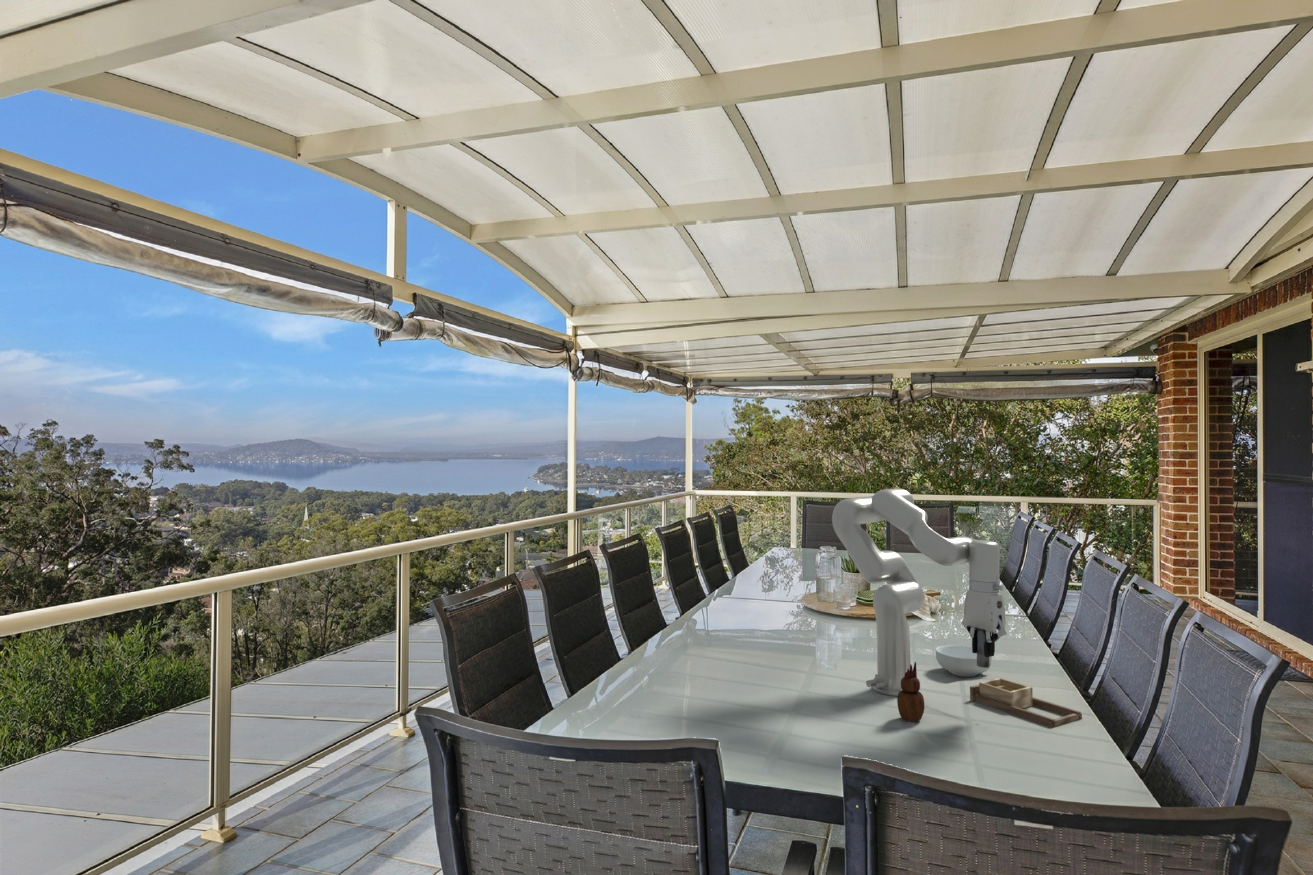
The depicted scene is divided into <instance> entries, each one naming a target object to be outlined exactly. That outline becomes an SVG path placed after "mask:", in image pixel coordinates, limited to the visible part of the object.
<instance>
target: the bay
mask: <svg viewBox="0 0 1313 875" xmlns="http://www.w3.org/2000/svg"><path fill="white" fill-rule="evenodd" d="M969 701H971V702H976V703H978V704H982V705H985V706H988V707H990V708H994V709H996V710H999V711H1002V712H1005V713H1008V714H1012V715H1015V716H1017V717H1021V718H1023V719H1027V720H1030V721H1032V722H1035V723H1039V724H1042V725H1044V726H1046V727H1048V728H1055V727H1058V726H1062V725H1065V724H1069V723H1072V722H1075V721H1079V720H1082V719H1083V713H1082V712H1081V711H1080V710H1076V709H1073V708H1070V707H1066V706H1063V705H1060V704H1057V703H1053V702H1050V701H1048V700H1047V701H1046V700H1043V699H1041V698H1040V699H1039V698H1036V697H1035V696H1033V706H1034V707H1037V708H1040V709H1044V710H1047V711H1050V712H1054V713H1056V714H1060V715H1064V716H1061V717H1057V718H1053V717H1048V716H1046V715H1042V714H1039V713H1036V712H1034V711H1031V710H1027V709H1025V708H1022V709H1021V708H1018V707H1015V706H1012V705H1009V704H1006V703H1003V702H1000V701H997V700H994V699H991V698H988V697H984V696H981V695H979V684H975V685H972V686H969Z"/></svg>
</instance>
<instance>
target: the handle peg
mask: <svg viewBox="0 0 1313 875" xmlns="http://www.w3.org/2000/svg"><path fill="white" fill-rule="evenodd" d="M985 642H987V639H986V630H983V629H979V628H977V666H979V667H983V668H988V667H991V666H990V657H985V655H984V654H985Z"/></svg>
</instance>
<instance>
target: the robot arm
mask: <svg viewBox="0 0 1313 875" xmlns="http://www.w3.org/2000/svg"><path fill="white" fill-rule="evenodd" d="M928 517H929V516H928V514H927V512H926V511H925V510H924V509H922V508H920V507H919V506H917V505H916V504H915V499H914V498H913V495H912V494H911V493H910V492H909V491H907V490H906V489H904V488H899V487H898V488H885V489H881V490H878V491H877V492H875V493H874V494H873V495H871V496H861V497H860V496H857V497H847V498H845V499H842V500H840V501H839V502H837V504H836V505H835V506H834V509H833V511H832V515H831V521H832V528H833V530H834V532H835V534H836V536H837V538H838V539H839V541H840V542H841V543H842V544H843V546H844V547H845V549H846V550H847V553H848V555H849V556H850V558H851V560H852V561H853V563H854V564H855V567H856V569H857V570H858V572H859V574H860V576H861V577H862V578H863V580H864V581H865V582H867V583H869V584H872V585H874V584H882V583H886V584H883V585H881V586H879V587H877V589H876V590H875V592H874V594H873V597H872V604H873V605H872V606H873V610H874V616H875V622H876V625H875V626H876V653H877V655H876V656H877V657H876V658H877V659H876V660H877V661H876V662H877V665H876V666H877V667H876V668H877V674H875V675H874V678H873V679H869V680H868V679H867V680H866V682H865V684H866V687H868V688H871V687H872V689H873V691H875V692H878V693H880V694H882V695H883V694H884V695H887V696H893V697H895V696H896V697H897V696H898V693H899V692H900V691H902V688H901V679H902V678H903V677H904V676H905V672H907V669H909V671H910V665H912V664H911V630H910V625H909V622H908V618H907V616H906V614H909V613H913V612H916V611H919V610H920V609H921V608H922V607H924V606H923V605H924V603H925V591H924V589H923V587H922V585H921V584H920V581H918V579H917V578H916V576H915V574H914V573H913V571H912V569H911V568H910V567H909V565H908V563H907V562H906V559H905V558H903V557H902V555H901V554H899V553H898V552H896V551H893V550H881V549H880V548H878V546H877V545H876V544H875V542H874V539H873V538H872V537H871V535H870V534H869V533H868V532H867V531H865V529H863V527H862V526H861V525H865V524H874V523H875V524H876V523H878V522H883V521H887V522H889V523H890V524H891V525H893V526H894V527H896V528H897V529H898V530H900V531H901V532H902V533H904V534H905V535H907V536H908V539H909V540H910V542H911V543H912V545H913V546H914V548H915V549H917V551H919V552H920V553H921V554H922V555H924V556H926V557H927V558H929V559H930V560H931V561H933V562H934V563H937V565H938V564H939V565H941V566H944V567H953V566H957V565H965V564H968V589H967V590H966V594H965V598H964V607H963V619H962V621H961V625H962V627H964V628H965V629H966V630H967V631H968V633H969V637H970V638H971V647H972V653H977V628H979V629H983V630H986V639H987V642H985V654H984V655H985V657H991V656H992V657H994V656H995V651H996V648H995V646H996V644H995V642H996V643H997V641H998V640H999V639H1000V638H1003V637H1006V636H1007V630H1006V621H1007V620H1006V609H1005V607H1006V606H1005V602H1004V597H1003V593H1000V592H1001V591H1003V586H1002V585H1000V561H1001V560H1000V558H1001V556H1000V555H1001V554H1000V553H1001V550H1000V549H1001V548H1000V545H999V543H997V542H996V541H992V540H983V539H982V540H981V539H980V540H978V539H975V538H972V537H968V536H954V537H947V538H946V537H944V536H943V535H941V534H939V533H937V532H936V531H935V530H933V529H932V528H931V527H929V525H928V524H927V523H928Z"/></svg>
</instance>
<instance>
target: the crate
mask: <svg viewBox="0 0 1313 875" xmlns="http://www.w3.org/2000/svg"><path fill="white" fill-rule="evenodd" d="M978 685H979V695H981V696H984V697H988V698H991V699H994V700H997V701H1000V702H1003V703H1006V704H1009V705H1012V706H1015V707H1018V708H1021V709H1025V708H1029V707H1033V706H1034V705H1033V697H1034V696H1033V694H1034V693H1033V686H1029V685H1026V684H1022V683H1019V682H1016V681H1012V680H1009V679H1005V678H1002V677H998V678H994V679H990V680H984V681H981V682H978Z"/></svg>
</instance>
